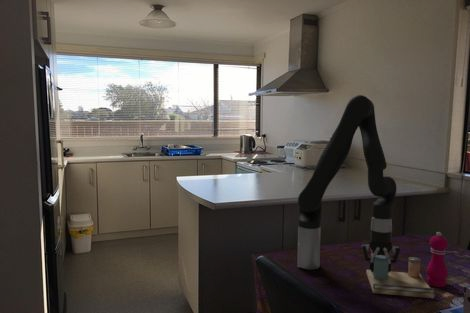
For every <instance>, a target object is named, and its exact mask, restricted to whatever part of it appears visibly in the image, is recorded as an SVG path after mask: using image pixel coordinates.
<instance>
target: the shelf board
mask: <svg viewBox="0 0 470 313" xmlns="http://www.w3.org/2000/svg"><path fill="white" fill-rule="evenodd" d="M366 276H367V279H368V282H369V284H370V289H371V290H372V293H373V294H381V295H394V296H405V297H415V298H416V297H417V298H429V299H435V291H436V290H435V288H432V287H431V286H430V285H429V284H428V282H427V280H425V278H424V277H423V276H422V275H421V273H420V277H419V278H412V277H409V276H408V272H404V271H392V270H391V271H390V272H389V273H388V280H380V279H374V277H373V274H372V272H371V270H370V269H366Z"/></svg>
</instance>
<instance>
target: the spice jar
mask: <svg viewBox="0 0 470 313" xmlns="http://www.w3.org/2000/svg"><path fill="white" fill-rule="evenodd" d="M407 259H408V260H407V261H408V269H407V273H408V276H409V277H412V278H419V277H420V274H421V273H420V271H421V259H420V258H419V257H416V256H409V257H408V258H407Z"/></svg>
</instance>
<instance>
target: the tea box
mask: <svg viewBox="0 0 470 313" xmlns="http://www.w3.org/2000/svg"><path fill="white" fill-rule="evenodd" d="M373 263H374V270H373V272H372V274H373V277H374V279H380V280H388V260H387V259H386V257H385V256H383V255H377V256H376V258H375V259H374V261H373Z"/></svg>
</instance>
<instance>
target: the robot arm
mask: <svg viewBox="0 0 470 313" xmlns="http://www.w3.org/2000/svg"><path fill="white" fill-rule="evenodd" d="M375 113H376V112H375V105H374V103H373V101H372V100H370V99H369V98H368V97H367V96H365V95H361V94H357V95H355V96H353V97H352V98H350V99H349V100H348V103H347V105H346V106H345V109H344V110H343V114H342V116H341V118H340V120H339V122H338V124H337V127H336V128H335V130H334V132H333V133H332V135H331V136H330V138H329V140H328V142H327V143H326V145H325V147H324V149H323V150H322V153H321V155H320V156H319V159H318V161H317V164H316V165H315V168H314V170H313V171H314V172H313V173H312V176H311V178H310V179H309V181H308V183H307V184H306V185H305V187H303V189H302V190H301V192H300V193H299V195H298V197H297V203H298V206H299V212H298V219H297V225H298V226H297V228H298V229H297V258H296V259H297V260H296V261H297V263H296V264H297V265H296V267H297V268H301V269H304V270H317V269H319V268H320V265H321V264H320V263H321V261H320V256H321V222H322V207H323V206H322V203H323V197H324V195H325V193H326V191H327V188H328V186H329V185H330V184H331V182H332V181H333V179H335V176H336V175H337V173H338V172H339V171H340V169H341V168H342V167H343V164H344V163H345V161H346V159H347V157H348V155H349V153H350V151H351V147H352V143H353V140H354V136H355V133H356V132H357V130H358V129H359V131H360V135H361V140H362V151H363V156H364V159H365V160H364V161H365V164H366V167H367V186H368V189H369V191H370V193H371V194H372V195H373V196H375V197H377V200H376V201H374V202H372V207H371V221H370V237H369V238H370V240H369V243H367V244H365V243H363V244H361V249H362V252H363V257H364V260H365V262H369V263H368V266H369V269H368V270H371V272H373V270H374V263H373V261H374V259H375V258H376V256H377V255H383V256H385V257H386V259H387V260H388V273H389V272H390V271H391V272H392V267H391V266H392V264H395V263H397V260H398V257H399V253H400V250H401V249H400V247H399V245H398V246H395V245H392V237H393V236H392V232H393V222H392V221H393V220H392V216H393V215H392V214H393V213H392V212H393V205H394V202H395V198H396V195H397V183H396V180H395V179H394V178H393V177H391V176H384V170H386V169H387V166H388V165H387V161H386V158H385V153H384V150H383V147H382V143H381V140H380V137H379V131H378V129H377V122H376V114H375ZM369 248H370V251H371V250H372V253H370V255H369V256H368V251H369ZM391 250H392V252H393V253H392V257H390V255H389V253H390V251H391Z"/></svg>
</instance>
